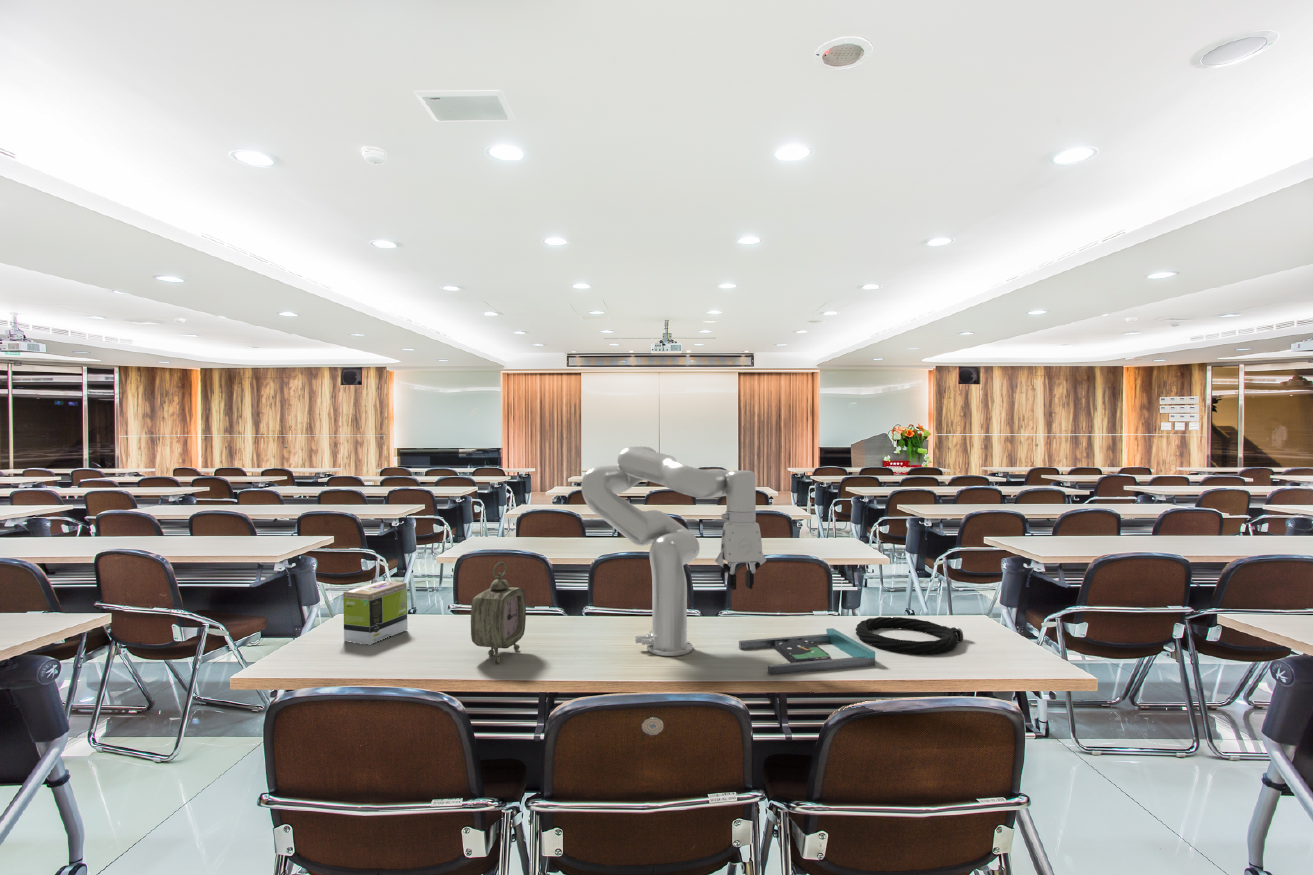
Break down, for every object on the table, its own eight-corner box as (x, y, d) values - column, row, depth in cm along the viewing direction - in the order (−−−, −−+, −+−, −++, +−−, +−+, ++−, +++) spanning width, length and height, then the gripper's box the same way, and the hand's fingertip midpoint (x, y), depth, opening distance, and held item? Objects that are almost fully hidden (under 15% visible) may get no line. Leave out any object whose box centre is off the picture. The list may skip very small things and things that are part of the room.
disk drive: (773, 651, 171) (795, 669, 156) (773, 641, 171) (795, 658, 156) (808, 649, 173) (833, 666, 158) (808, 638, 173) (833, 655, 158)
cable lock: (843, 614, 193) (940, 615, 193) (843, 627, 193) (940, 627, 193) (873, 642, 166) (985, 643, 165) (873, 657, 166) (985, 657, 165)
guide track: (770, 675, 151) (770, 660, 151) (738, 647, 171) (738, 635, 172) (875, 665, 158) (875, 651, 158) (832, 640, 178) (832, 628, 178)
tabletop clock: (500, 667, 156) (500, 568, 157) (468, 664, 158) (468, 566, 159) (525, 649, 170) (526, 558, 171) (495, 646, 172) (496, 556, 173)
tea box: (382, 627, 190) (382, 579, 190) (408, 631, 187) (408, 582, 187) (342, 642, 176) (342, 590, 176) (369, 646, 172) (370, 593, 173)
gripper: (715, 520, 155) (715, 593, 155) (776, 518, 159) (776, 589, 159) (706, 517, 163) (705, 586, 162) (764, 515, 167) (764, 583, 166)
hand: (740, 587), depth 161 cm, fingers open, 3 cm apart
